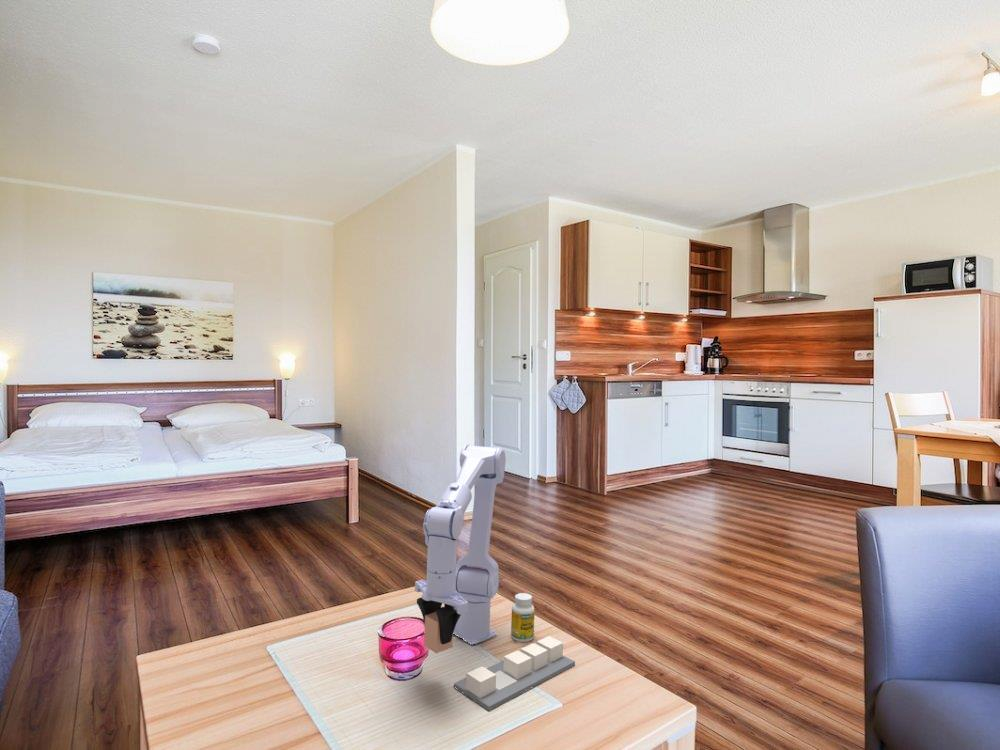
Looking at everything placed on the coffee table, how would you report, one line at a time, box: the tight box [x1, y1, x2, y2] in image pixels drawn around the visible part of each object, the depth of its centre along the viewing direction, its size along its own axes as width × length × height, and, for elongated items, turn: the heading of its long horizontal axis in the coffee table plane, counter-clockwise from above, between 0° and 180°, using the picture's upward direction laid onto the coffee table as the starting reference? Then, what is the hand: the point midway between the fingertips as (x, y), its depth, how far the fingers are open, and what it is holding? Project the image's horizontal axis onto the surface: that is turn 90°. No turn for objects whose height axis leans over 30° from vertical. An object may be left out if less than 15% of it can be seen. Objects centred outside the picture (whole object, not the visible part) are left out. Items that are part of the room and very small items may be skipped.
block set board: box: [453, 635, 576, 712], centre depth 113 cm, size 10×25×4 cm, turn 134°
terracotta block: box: [423, 612, 454, 654], centre depth 109 cm, size 4×4×6 cm
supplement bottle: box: [510, 592, 536, 643], centre depth 130 cm, size 5×5×10 cm
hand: (438, 638), depth 109 cm, fingers closed on terracotta block, 4 cm apart
